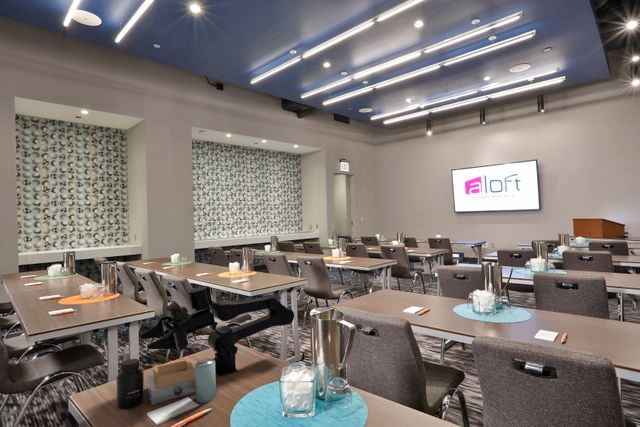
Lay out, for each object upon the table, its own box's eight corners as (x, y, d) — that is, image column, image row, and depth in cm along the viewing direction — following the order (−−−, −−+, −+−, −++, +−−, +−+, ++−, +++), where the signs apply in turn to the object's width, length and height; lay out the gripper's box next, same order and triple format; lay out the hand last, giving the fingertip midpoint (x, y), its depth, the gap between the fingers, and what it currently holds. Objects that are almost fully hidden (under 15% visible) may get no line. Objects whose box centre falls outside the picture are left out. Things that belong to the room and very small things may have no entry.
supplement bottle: (132, 411, 97) (131, 367, 97) (111, 409, 98) (110, 366, 98) (149, 398, 104) (148, 357, 104) (129, 397, 105) (128, 356, 105)
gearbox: (193, 376, 118) (193, 356, 118) (202, 391, 107) (202, 369, 107) (147, 388, 110) (146, 367, 110) (151, 405, 100) (151, 382, 100)
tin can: (213, 391, 107) (212, 356, 107) (218, 398, 102) (217, 362, 102) (194, 396, 104) (193, 361, 104) (198, 404, 99) (197, 367, 99)
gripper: (181, 292, 121) (131, 309, 112) (200, 306, 107) (145, 326, 97) (187, 322, 123) (138, 341, 114) (207, 339, 108) (153, 363, 99)
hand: (143, 342), depth 106 cm, fingers open, 9 cm apart
